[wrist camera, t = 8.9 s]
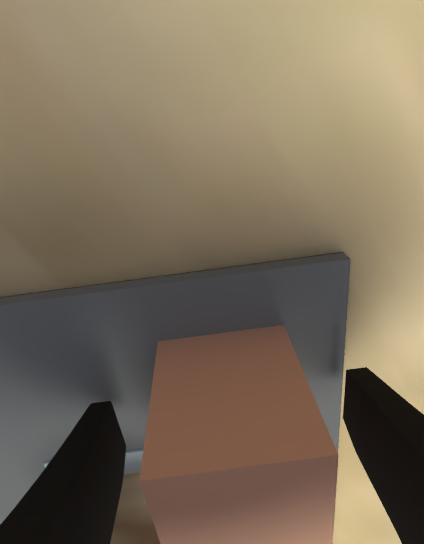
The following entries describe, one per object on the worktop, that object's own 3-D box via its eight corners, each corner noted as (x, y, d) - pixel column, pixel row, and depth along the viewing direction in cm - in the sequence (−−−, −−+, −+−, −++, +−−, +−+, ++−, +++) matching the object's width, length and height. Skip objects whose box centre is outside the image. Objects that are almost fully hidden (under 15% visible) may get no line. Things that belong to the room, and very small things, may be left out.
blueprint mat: (2, 594, 18) (-4, 609, 18) (-214, 325, 11) (-236, 338, 10) (327, 552, 18) (331, 565, 18) (343, 252, 11) (351, 260, 10)
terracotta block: (178, 428, 13) (172, 580, 9) (157, 341, 11) (139, 480, 7) (286, 414, 13) (331, 559, 9) (283, 324, 11) (338, 454, 7)
